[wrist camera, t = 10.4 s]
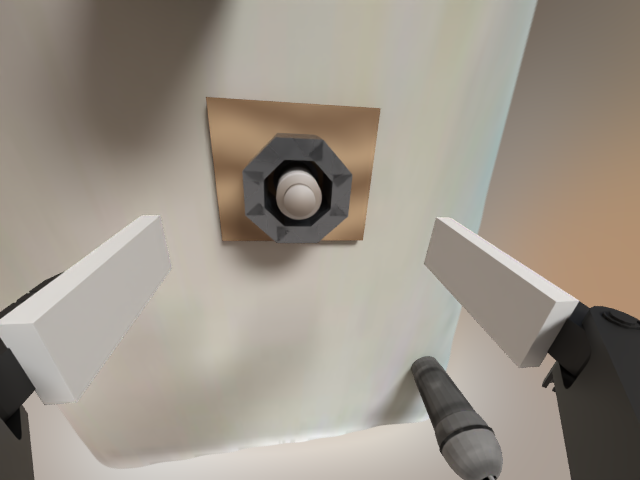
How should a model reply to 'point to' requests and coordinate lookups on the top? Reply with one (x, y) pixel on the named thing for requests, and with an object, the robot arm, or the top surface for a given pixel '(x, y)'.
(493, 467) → the beverage cup
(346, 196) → the ring
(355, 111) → the post block
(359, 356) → the top surface
